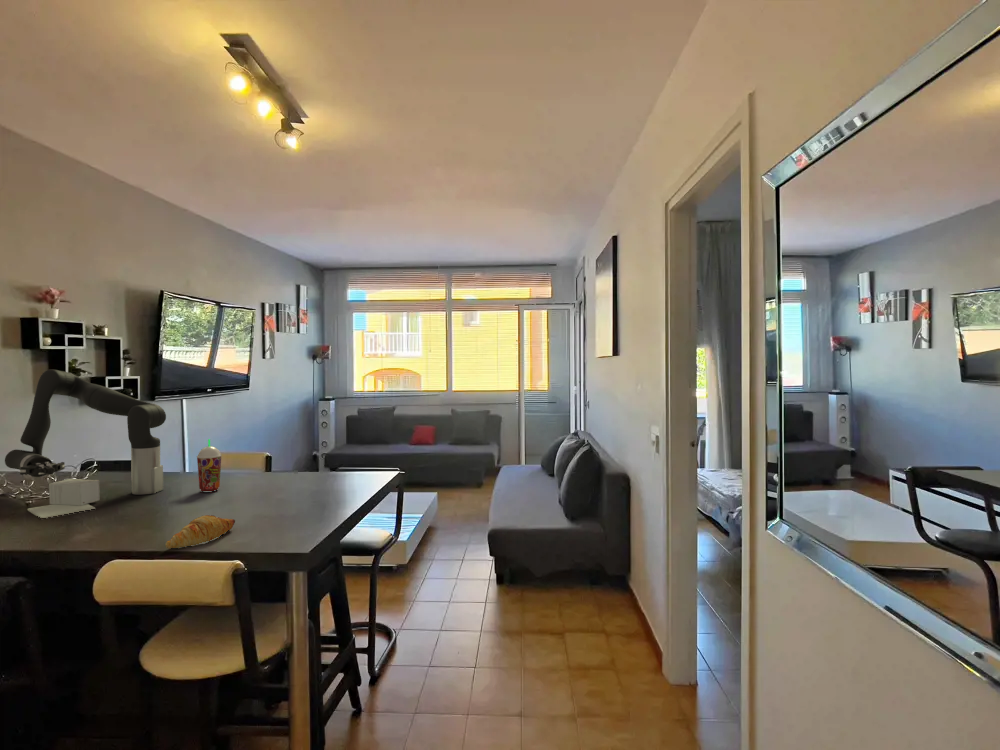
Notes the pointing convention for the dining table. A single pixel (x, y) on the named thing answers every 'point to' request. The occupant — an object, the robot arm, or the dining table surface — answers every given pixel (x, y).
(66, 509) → the topple mat
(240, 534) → the dining table surface
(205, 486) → the smoothie
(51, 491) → the supplement box
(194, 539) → the croissant
